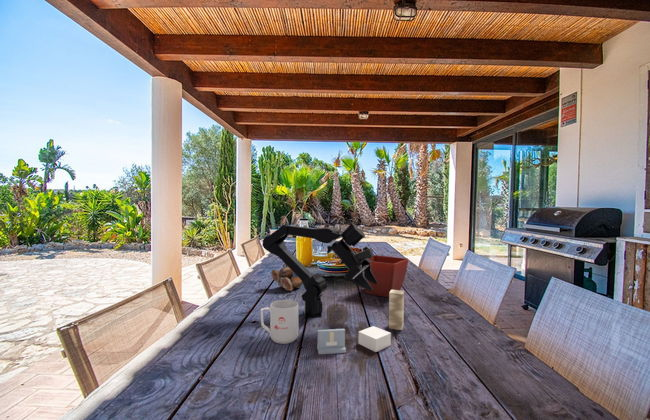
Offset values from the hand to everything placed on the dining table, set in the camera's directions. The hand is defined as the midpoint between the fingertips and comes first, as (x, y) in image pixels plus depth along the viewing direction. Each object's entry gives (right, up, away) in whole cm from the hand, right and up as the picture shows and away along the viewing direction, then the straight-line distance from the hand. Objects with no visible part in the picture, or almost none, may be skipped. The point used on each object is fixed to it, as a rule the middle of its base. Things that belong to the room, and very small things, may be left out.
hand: (374, 286), depth 109 cm
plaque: (-16, -13, -21) cm, 29 cm away
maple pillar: (+7, -13, -3) cm, 16 cm away
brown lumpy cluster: (-37, -13, +45) cm, 59 cm away
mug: (-32, -13, -13) cm, 38 cm away
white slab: (-3, -14, -16) cm, 22 cm away
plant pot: (+11, -13, +39) cm, 43 cm away
